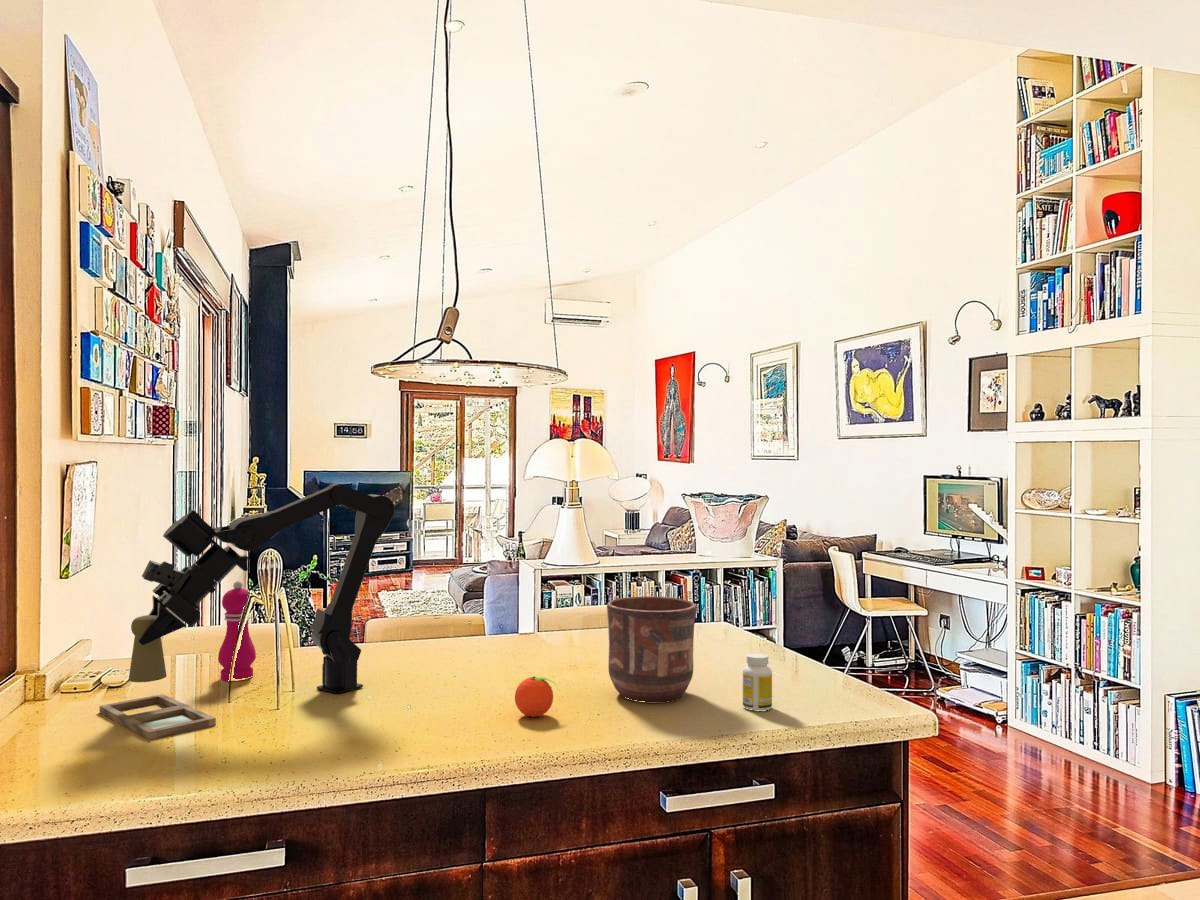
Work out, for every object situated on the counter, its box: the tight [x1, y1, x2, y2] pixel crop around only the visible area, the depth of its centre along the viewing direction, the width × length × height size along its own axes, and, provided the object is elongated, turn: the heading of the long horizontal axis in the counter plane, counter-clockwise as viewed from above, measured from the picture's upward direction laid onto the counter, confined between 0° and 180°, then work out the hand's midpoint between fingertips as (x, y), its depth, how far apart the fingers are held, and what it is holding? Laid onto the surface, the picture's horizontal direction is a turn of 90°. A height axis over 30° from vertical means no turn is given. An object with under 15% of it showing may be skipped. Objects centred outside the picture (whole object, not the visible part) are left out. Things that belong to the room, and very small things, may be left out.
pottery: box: [606, 595, 697, 703], centre depth 176 cm, size 18×18×18 cm
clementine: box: [514, 676, 560, 718], centre depth 161 cm, size 8×7×7 cm
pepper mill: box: [217, 580, 257, 682], centre depth 185 cm, size 7×7×20 cm
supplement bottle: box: [742, 653, 773, 711], centre depth 167 cm, size 5×5×10 cm
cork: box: [128, 614, 167, 683], centre depth 159 cm, size 6×6×11 cm
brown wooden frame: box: [98, 693, 217, 740], centre depth 157 cm, size 22×11×1 cm, turn 48°
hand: (139, 640), depth 159 cm, fingers closed on cork, 5 cm apart
